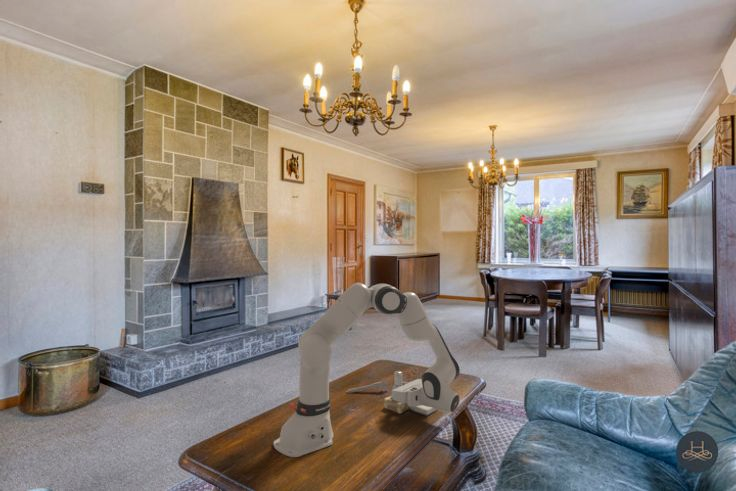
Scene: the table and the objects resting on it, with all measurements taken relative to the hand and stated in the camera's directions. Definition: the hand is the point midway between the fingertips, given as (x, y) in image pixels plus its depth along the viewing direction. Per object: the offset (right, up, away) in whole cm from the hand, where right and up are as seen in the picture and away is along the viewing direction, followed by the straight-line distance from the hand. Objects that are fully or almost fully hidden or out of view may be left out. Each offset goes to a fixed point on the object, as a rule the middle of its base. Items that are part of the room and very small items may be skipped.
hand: (396, 385), depth 174 cm
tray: (+12, -10, -3) cm, 15 cm away
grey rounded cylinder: (+1, -9, -1) cm, 9 cm away
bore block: (+1, -10, -1) cm, 10 cm away
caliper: (-14, -10, +18) cm, 25 cm away
